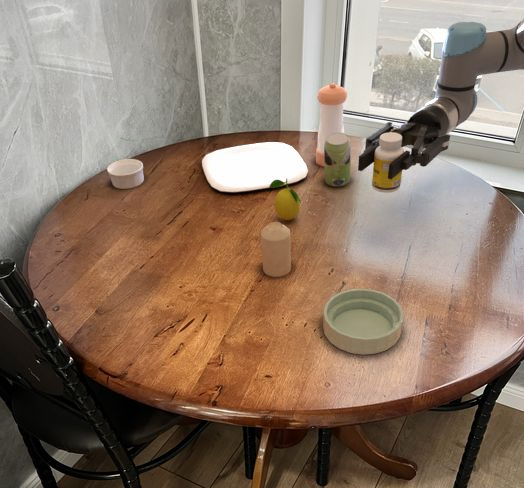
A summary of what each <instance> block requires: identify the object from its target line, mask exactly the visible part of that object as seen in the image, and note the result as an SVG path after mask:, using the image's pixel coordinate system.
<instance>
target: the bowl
mask: <svg viewBox="0 0 524 488" xmlns="http://www.w3.org/2000/svg"><path fill="white" fill-rule="evenodd" d="M322 314H323V315H322V316H323V317H322V328H323V334H324V336H325V337H326V339H327V340H328V341H329V343H330V344H332V345H333V346H335V347H336V348H337V349H339V350H342V351H344V352H347V353H349V354H355V355H375V354H379V353H382V352H385V351H388V350H389V349H390V348H392V347H393V346H395V345H396V344H397V342H398V341H399V339H400V338H401V335H402V328H403V323H404V314H405V313H404V311H403V309H402V306H401V304H400V303H399V302H398V301H397V300H396V299H395V298H393V297H392V296H390V295H389V294H387V293H384V292H382V291H380V290H379V291H378V290H375V289H370V288H352V289H347V290H344V291H341V292H338V293H337V294H335V295H333V296H331V297H330V298H329V299H328V301H327V302H326V303H325V305H324V308H323V313H322Z"/></svg>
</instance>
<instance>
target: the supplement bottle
mask: <svg viewBox="0 0 524 488" xmlns="http://www.w3.org/2000/svg"><path fill="white" fill-rule="evenodd" d="M401 144H402V136H401V135H400V134H398V133H393V132H389V133H384V134H382V135H381V136H380V140H379V145H380V146H378V147H377V148H376V150H375V155H374V162H373V167H372V178H371V187H372V189H373V190H375V191H377V192H378V193H385V194H387V193H394V192H396V191H398V190H399V189H400V187H401V183H402V175H403V170H402V171H401V172H400V173H399V174H397V175H396V176H395V177H394V178H393V179H388V171H389V164H390V163H391V162H392V161H394V160H395V159H396V158H398V157H399V156H400V155H401V154H403V153H404V152H405V149H404V147H401Z"/></svg>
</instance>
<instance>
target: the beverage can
mask: <svg viewBox="0 0 524 488" xmlns="http://www.w3.org/2000/svg"><path fill="white" fill-rule="evenodd" d="M351 151H352V143H351V140H350V139H349V136H348V135H347V134H346V133H345V132H344V133H333V134H330V135H329V136H328V137H327V140H326V141H325V143H324V162H325V167H324V182H325V183H326V185H328V186H330V187H333V188H334V187H335V188H336V187H338V188H339V187H343V186H346V185H347V184H348V183H349V182H350V180H351V157H352V155H351Z"/></svg>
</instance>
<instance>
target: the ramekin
mask: <svg viewBox="0 0 524 488" xmlns="http://www.w3.org/2000/svg"><path fill="white" fill-rule="evenodd" d="M106 171H107V174H108V176H109V178H110V181H111V184H112V186H113V187H114V188H116V189H120V190H126V189H127V190H128V189H132V188H136V187H139V186H140V185H142V184H143V183H144V181H145V177H144V175H145V174H144V163H143V162H142V161H141V160H139V159H135V158H122V159H119V160H116V161H114V162H112V163H110V164H109V165H108V166H107V168H106Z"/></svg>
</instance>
